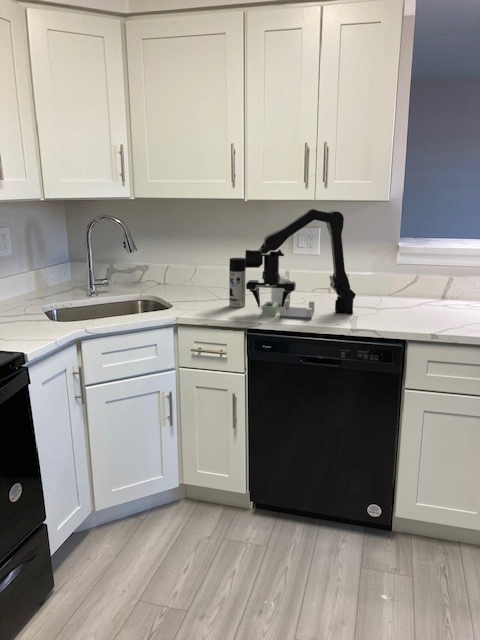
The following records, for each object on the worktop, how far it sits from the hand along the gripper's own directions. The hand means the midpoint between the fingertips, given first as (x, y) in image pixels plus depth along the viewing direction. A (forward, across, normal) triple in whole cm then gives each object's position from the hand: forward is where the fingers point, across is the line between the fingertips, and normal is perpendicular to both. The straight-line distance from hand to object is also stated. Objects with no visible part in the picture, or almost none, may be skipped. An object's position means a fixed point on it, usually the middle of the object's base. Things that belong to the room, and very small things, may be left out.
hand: (270, 307), depth 203 cm
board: (+3, 0, 0) cm, 3 cm away
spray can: (+3, +16, -10) cm, 19 cm away
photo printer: (+3, -1, -18) cm, 18 cm away
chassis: (+3, -10, -1) cm, 11 cm away
